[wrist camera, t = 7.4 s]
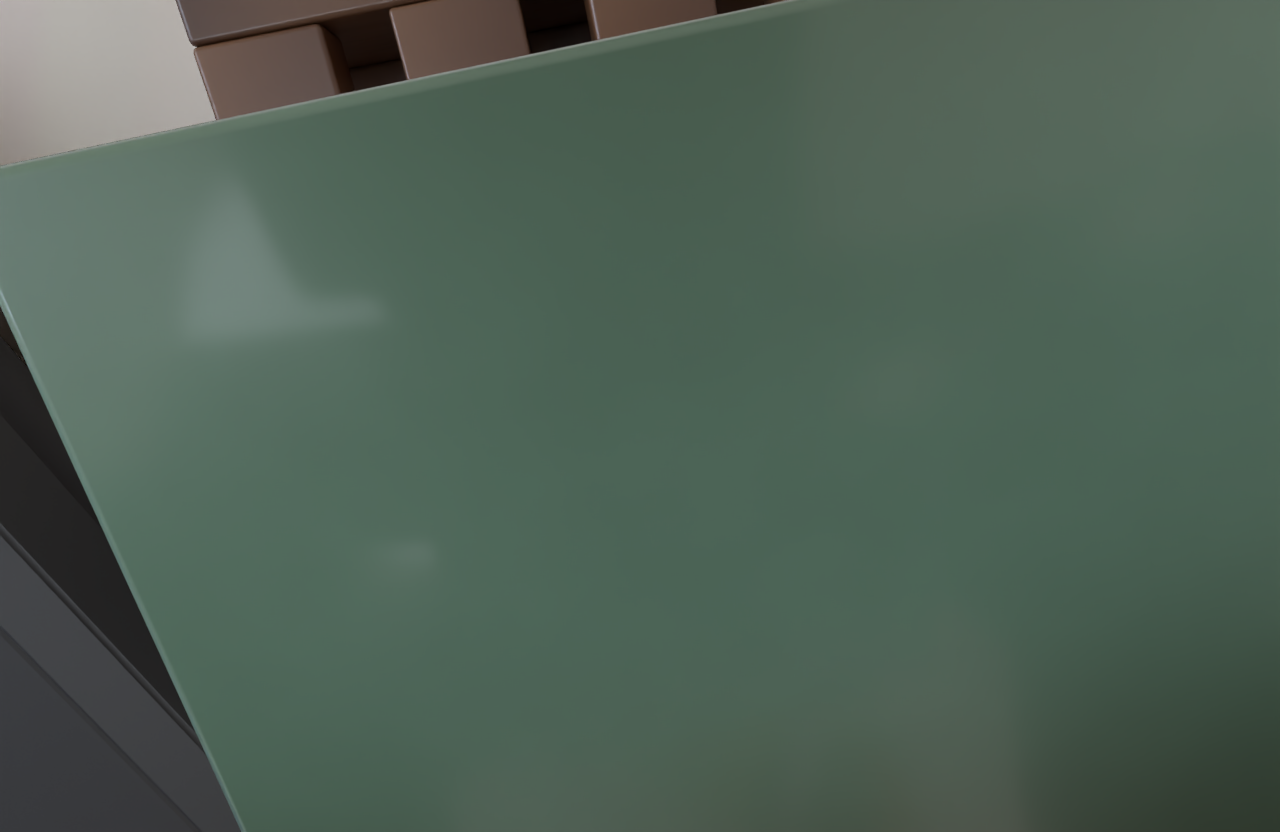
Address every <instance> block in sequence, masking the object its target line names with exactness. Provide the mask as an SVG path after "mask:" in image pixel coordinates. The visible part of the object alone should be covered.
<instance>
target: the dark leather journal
mask: <svg viewBox="0 0 1280 832" xmlns="http://www.w3.org/2000/svg"><path fill="white" fill-rule="evenodd" d="M0 832H241V830H240V828H239V826H238V823H237V821H236V819H235V817H234V815H233V812H232V810H231V808H230V806H229V804H228V802H227V799H226V797H225V795H224V793H223V791H222V789H221V786H220V784H219V782H218V780H217V778H216V775H215V773H214V771H213V769H212V767H211V765H210V762H209V760H208V758H207V756H206V754H205V751H204V749H203V747H202V745H201V743H200V741H199V738H198V736H197V734H196V732H195V730H194V727H193V725H192V723H191V721H190V719H189V717H188V714H187V712H186V710H185V708H184V706H183V704H182V701H181V699H180V697H179V695H178V693H177V690H176V688H175V686H174V684H173V682H172V680H171V677H170V675H169V673H168V671H167V669H166V666H165V664H164V662H163V660H162V658H161V656H160V653H159V651H158V649H157V647H156V645H155V642H154V640H153V638H152V636H151V634H150V632H149V629H148V627H147V625H146V623H145V621H144V619H143V616H142V614H141V612H140V610H139V608H138V605H137V603H136V601H135V599H134V597H133V595H132V592H131V590H130V588H129V586H128V584H127V581H126V579H125V577H124V575H123V573H122V571H121V568H120V566H119V564H118V562H117V560H116V557H115V555H114V553H113V551H112V549H111V547H110V544H109V542H108V540H107V538H106V536H105V533H104V531H103V529H102V527H101V525H100V523H99V520H98V518H97V516H96V514H95V512H94V510H93V507H92V505H91V503H90V501H89V499H88V496H87V494H86V492H85V490H84V488H83V486H82V483H81V481H80V479H79V477H78V475H77V472H76V470H75V468H74V466H73V464H72V462H71V459H70V457H69V455H68V453H67V451H66V448H65V446H64V444H63V442H62V440H61V438H60V435H59V433H58V431H57V429H56V427H55V424H54V422H53V420H52V418H51V416H50V414H49V411H48V409H47V407H46V405H45V403H44V401H43V398H42V396H41V394H40V392H39V390H38V387H37V385H36V383H35V381H34V379H33V377H32V374H31V372H30V370H29V369H28V368H27V367H26V366H25V364H24V363H23V362H22V361H21V360H20V359H19V357H18V356H17V355H16V354H15V353H14V352H13V350H12V349H11V348H10V347H9V346H8V345H7V343H6V342H5V341H4V340H3V339H2V337H1V336H0Z"/></svg>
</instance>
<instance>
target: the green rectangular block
mask: <svg viewBox="0 0 1280 832" xmlns="http://www.w3.org/2000/svg"><path fill="white" fill-rule="evenodd" d="M0 307H1V309H2V311H3V313H4V316H5V318H6V320H7V322H8V324H9V326H10V329H11V331H12V333H13V335H14V337H15V339H16V342H17V344H18V346H19V348H20V350H21V353H22V355H23V357H24V359H25V361H26V363H27V366H28V368H29V370H30V372H31V374H32V377H33V379H34V381H35V383H36V385H37V387H38V390H39V392H40V394H41V396H42V398H43V401H44V403H45V405H46V407H47V409H48V411H49V414H50V416H51V418H52V420H53V422H54V424H55V427H56V429H57V431H58V433H59V435H60V438H61V440H62V442H63V444H64V446H65V448H66V451H67V453H68V455H69V457H70V459H71V462H72V464H73V466H74V468H75V470H76V472H77V475H78V477H79V479H80V481H81V483H82V486H83V488H84V490H85V492H86V494H87V496H88V499H89V501H90V503H91V505H92V507H93V510H94V512H95V514H96V516H97V518H98V520H99V523H100V525H101V527H102V529H103V531H104V533H105V536H106V538H107V540H108V542H109V544H110V547H111V549H112V551H113V553H114V555H115V557H116V560H117V562H118V564H119V566H120V568H121V571H122V573H123V575H124V577H125V579H126V581H127V584H128V586H129V588H130V590H131V592H132V595H133V597H134V599H135V601H136V603H137V605H138V608H139V610H140V612H141V614H142V616H143V619H144V621H145V623H146V625H147V627H148V629H149V632H150V634H151V636H152V638H153V640H154V642H155V645H156V647H157V649H158V651H159V653H160V656H161V658H162V660H163V662H164V664H165V666H166V669H167V671H168V673H169V675H170V677H171V680H172V682H173V684H174V686H175V688H176V690H177V693H178V695H179V697H180V699H181V701H182V704H183V706H184V708H185V710H186V712H187V714H188V717H189V719H190V721H191V723H192V725H193V727H194V730H195V732H196V734H197V736H198V738H199V741H200V743H201V745H202V747H203V749H204V751H205V754H206V756H207V758H208V760H209V762H210V765H211V767H212V769H213V771H214V773H215V775H216V778H217V780H218V782H219V784H220V786H221V789H222V791H223V793H224V795H225V797H226V799H227V802H228V804H229V806H230V808H231V810H232V812H233V815H234V817H235V819H236V821H237V823H238V826H239V828H240V830H241V832H1280V0H785V1H781V2H776V3H771V4H766V5H762V6H757V7H752V8H747V9H743V10H738V11H733V12H728V13H724V14H719V15H714V16H709V17H705V18H700V19H695V20H690V21H686V22H681V23H676V24H671V25H667V26H662V27H657V28H652V29H648V30H643V31H638V32H633V33H629V34H624V35H619V36H614V37H610V38H605V39H600V40H595V41H591V42H586V43H581V44H576V45H572V46H567V47H562V48H557V49H553V50H548V51H543V52H538V53H534V54H529V55H524V56H519V57H515V58H510V59H505V60H500V61H496V62H491V63H486V64H481V65H477V66H472V67H467V68H462V69H458V70H453V71H448V72H443V73H439V74H434V75H429V76H424V77H420V78H415V79H410V80H405V81H401V82H396V83H391V84H386V85H382V86H377V87H372V88H367V89H363V90H358V91H353V92H348V93H344V94H339V95H334V96H329V97H325V98H320V99H315V100H310V101H306V102H301V103H296V104H291V105H287V106H282V107H277V108H272V109H268V110H263V111H258V112H253V113H249V114H244V115H239V116H234V117H230V118H225V119H220V120H215V121H211V122H206V123H201V124H196V125H192V126H187V127H182V128H177V129H173V130H168V131H163V132H158V133H154V134H149V135H144V136H139V137H135V138H130V139H125V140H120V141H116V142H111V143H106V144H101V145H97V146H92V147H87V148H82V149H78V150H73V151H68V152H63V153H59V154H54V155H49V156H44V157H40V158H35V159H30V160H25V161H21V162H16V163H11V164H6V165H2V166H0Z"/></svg>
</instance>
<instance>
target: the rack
mask: <svg viewBox="0 0 1280 832" xmlns="http://www.w3.org/2000/svg"><path fill="white" fill-rule="evenodd" d="M781 1H785V0H176V3H177V6H178V9H179V12H180V15H181V18H182V20H183V23H184V26H185V29H186V32H187V35H188V38H189V41H190V42H191V44H192V45H193V46H195V47H197V48H195V49H194V56H195V59H196V62H197V65H198V68H199V71H200V74H201V76H202V79H203V82H204V85H205V88H206V91H207V94H208V97H209V100H210V103H211V106H212V109H213V112H214V115H215V118H216V120H220V119H225V118H230V117H234V116H239V115H244V114H249V113H253V112H258V111H263V110H268V109H272V108H277V107H282V106H287V105H291V104H296V103H301V102H306V101H310V100H315V99H320V98H325V97H329V96H334V95H339V94H344V93H348V92H353V91H358V90H363V89H367V88H372V87H377V86H382V85H386V84H391V83H396V82H401V81H405V80H410V79H415V78H420V77H424V76H429V75H434V74H439V73H443V72H448V71H453V70H458V69H462V68H467V67H472V66H477V65H481V64H486V63H491V62H496V61H500V60H505V59H510V58H515V57H519V56H524V55H529V54H534V53H538V52H543V51H548V50H553V49H557V48H562V47H567V46H572V45H576V44H581V43H586V42H591V41H595V40H600V39H605V38H610V37H614V36H619V35H624V34H629V33H633V32H638V31H643V30H648V29H652V28H657V27H662V26H667V25H671V24H676V23H681V22H686V21H690V20H695V19H700V18H705V17H709V16H714V15H719V14H724V13H728V12H733V11H738V10H743V9H747V8H752V7H757V6H762V5H766V4H771V3H776V2H781Z"/></svg>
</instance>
